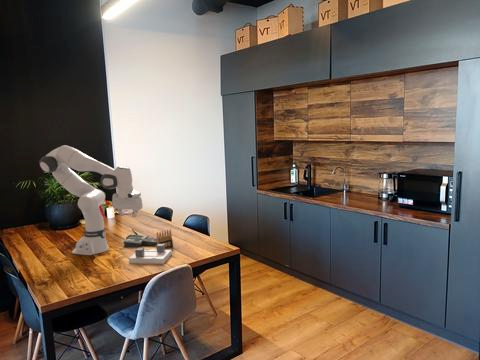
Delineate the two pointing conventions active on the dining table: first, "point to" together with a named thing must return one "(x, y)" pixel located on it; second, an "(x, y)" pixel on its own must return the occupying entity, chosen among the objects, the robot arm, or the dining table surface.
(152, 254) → the switch panel
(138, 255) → the tab near
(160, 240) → the ammunition clip
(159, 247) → the tab far
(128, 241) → the communication device
